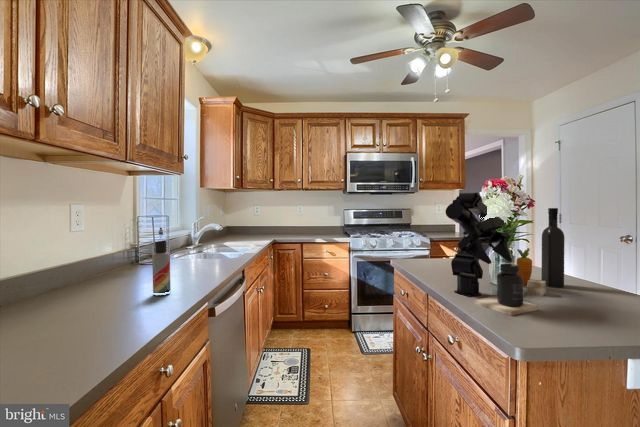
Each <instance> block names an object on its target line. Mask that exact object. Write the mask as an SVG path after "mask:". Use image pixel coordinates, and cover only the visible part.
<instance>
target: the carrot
mask: <svg viewBox="0 0 640 427" xmlns="http://www.w3.org/2000/svg"><path fill="white" fill-rule="evenodd" d="M517 252H518V254H519V256H520V257H517V258H516V265H519V272H518V273H519V274H520V275H521V276H522V277H523V288H526V287H527V281H528V280H530V279H531V277H532V272H533V260H532V259H531V258H530V257H528V256H529V255H530V253H529V252H530V248H528V247H527V249H524V251H523V250H522V249H519V248H518V249H517Z"/></svg>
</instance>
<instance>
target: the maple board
mask: <svg viewBox="0 0 640 427" xmlns="http://www.w3.org/2000/svg"><path fill="white" fill-rule="evenodd" d="M474 304H475V305H478V306H480V307H484V308H487V309H490V310H493V311H496V312H499V313H502V314H504V315H508V316H516V315H521V314H525V313H529V312H533V311H538V310H539V305H537V304H533V303H529V302H527V301H523V305H522V306H520V307H510V306H504V305H501V304H499V303H498V301H497V295H494V296H488V297H482V298H477V299H474Z"/></svg>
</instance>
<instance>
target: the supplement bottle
mask: <svg viewBox="0 0 640 427" xmlns="http://www.w3.org/2000/svg"><path fill="white" fill-rule="evenodd" d="M499 267H500V272H499V273H498V274H497V275H496V292H497V293H496V296H497V301H498V303H499V304H501V305H504V306H510V307H520V306H522V305H523V302H524V287H523V277H522V276H521V275H520V274H519V273H518V272H519V265H517V264H515V263H514V264H513V263H500V266H499Z"/></svg>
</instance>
